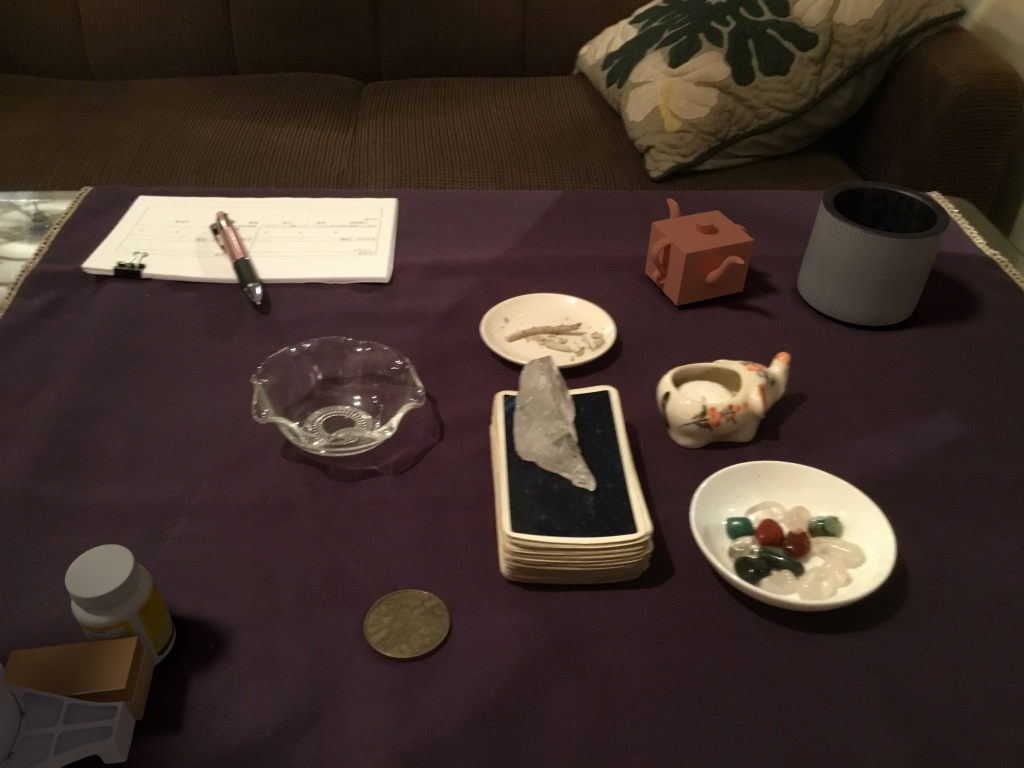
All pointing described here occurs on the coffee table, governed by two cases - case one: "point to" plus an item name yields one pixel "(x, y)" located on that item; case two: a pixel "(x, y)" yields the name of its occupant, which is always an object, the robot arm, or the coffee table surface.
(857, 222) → the planter
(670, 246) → the teapot
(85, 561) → the supplement bottle
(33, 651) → the brown t-shaped piece
